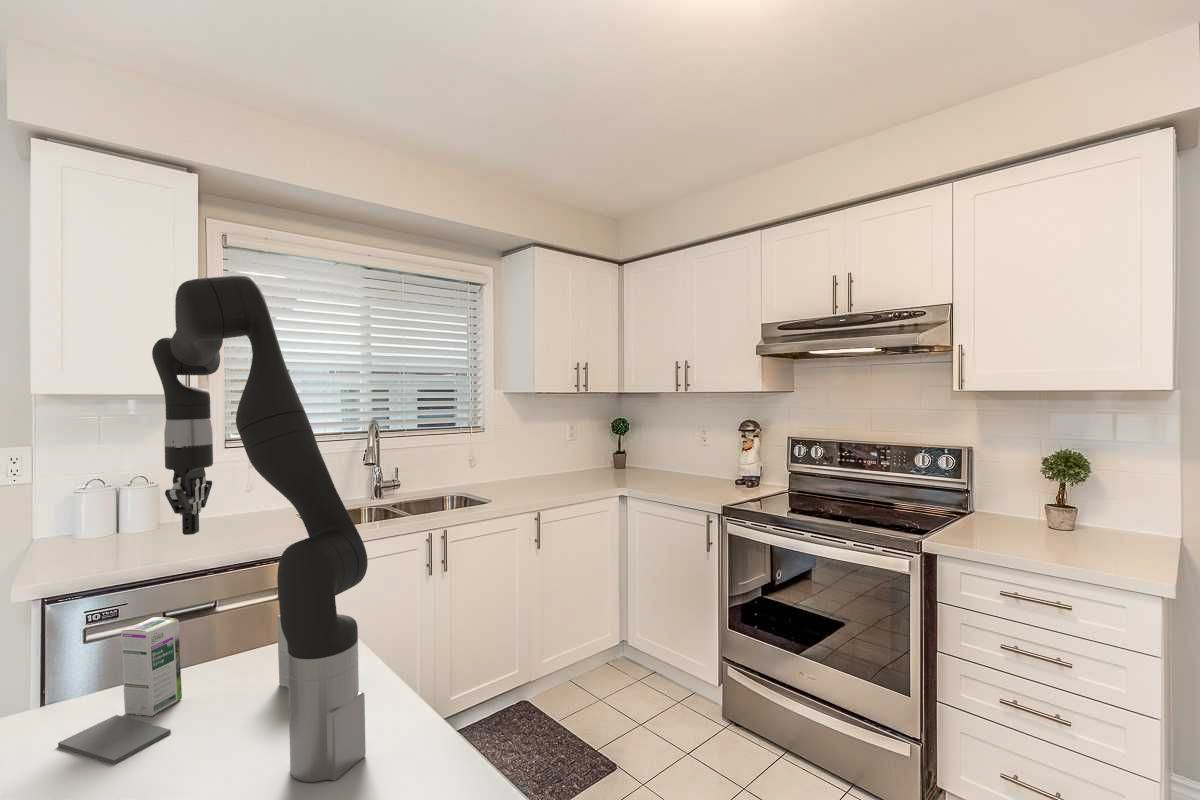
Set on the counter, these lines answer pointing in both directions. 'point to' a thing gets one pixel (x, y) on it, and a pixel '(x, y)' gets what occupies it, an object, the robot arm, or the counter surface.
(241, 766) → the counter surface
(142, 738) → the slate trivet
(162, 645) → the syrup box
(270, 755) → the counter surface
